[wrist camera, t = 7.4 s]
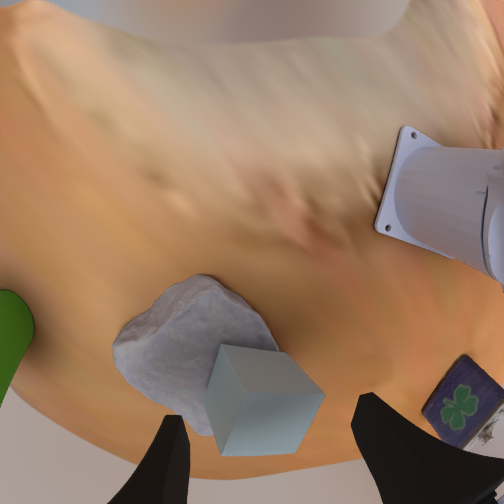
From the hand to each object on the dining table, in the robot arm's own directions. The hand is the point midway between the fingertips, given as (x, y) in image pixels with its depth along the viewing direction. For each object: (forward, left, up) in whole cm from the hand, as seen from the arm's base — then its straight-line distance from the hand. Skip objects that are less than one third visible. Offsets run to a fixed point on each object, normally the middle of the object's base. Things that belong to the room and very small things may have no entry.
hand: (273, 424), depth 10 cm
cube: (0, +3, -7) cm, 8 cm away
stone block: (+2, +4, -11) cm, 12 cm away
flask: (-26, +7, -11) cm, 29 cm away
